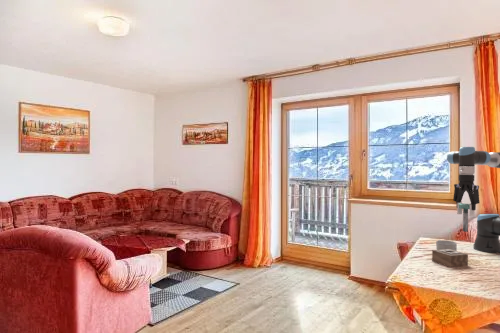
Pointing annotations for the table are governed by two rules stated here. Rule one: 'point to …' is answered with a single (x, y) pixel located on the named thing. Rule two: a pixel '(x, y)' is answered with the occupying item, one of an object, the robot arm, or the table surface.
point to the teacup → (446, 245)
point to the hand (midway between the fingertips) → (465, 214)
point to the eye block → (450, 257)
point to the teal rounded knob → (465, 215)
